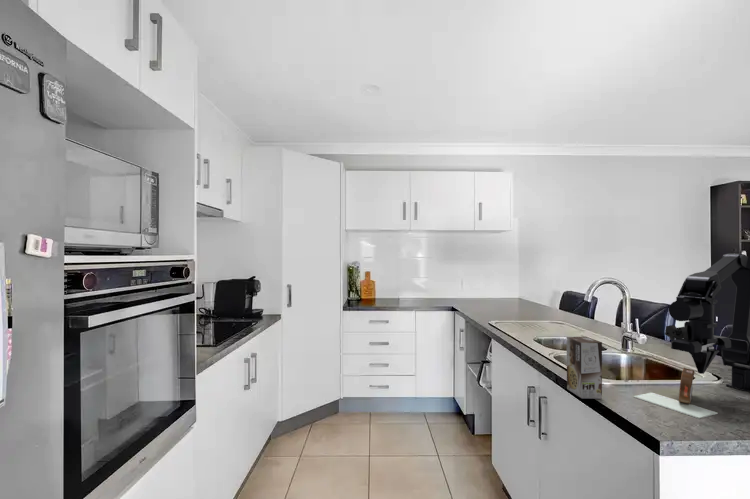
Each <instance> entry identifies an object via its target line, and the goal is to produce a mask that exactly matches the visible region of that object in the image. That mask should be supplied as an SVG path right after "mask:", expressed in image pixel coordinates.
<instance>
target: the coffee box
mask: <svg viewBox="0 0 750 499" xmlns="http://www.w3.org/2000/svg"><path fill="white" fill-rule="evenodd" d="M565 339H566V389H567V390H568V391H569V392H571V393H573V394H574V395H576V396H577V397H579V398H580V399H599V400H600V399H601V400H602V398H603V342H602V341H599V340H596V339H594V338H592V337H588V336H566V338H565Z"/></svg>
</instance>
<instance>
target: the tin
mask: <svg viewBox="0 0 750 499" xmlns="http://www.w3.org/2000/svg"><path fill="white" fill-rule="evenodd" d="M680 376H681V377H680V383H679V393H678V401H679V402H682V403H686V404H691V402H692V400H693V399H692V397H693V389H694V388H693V380H694V376H695V370H694V369H691V368H686V367H683V369H682V371H681V375H680Z"/></svg>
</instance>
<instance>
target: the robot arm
mask: <svg viewBox="0 0 750 499" xmlns="http://www.w3.org/2000/svg"><path fill="white" fill-rule="evenodd" d="M729 277H730V279H731V281H732V283H733V284H734V286H735V287H736V288H735V289H736V290H735V291H736V292H735V299H734V308H733V317H732V318H733V319H732V327H731V333H730V334H729V335H728V336H727V337H726V336H721V335H715V328H718V323H715V309H714V308H715V305H714V304H717V303H718V300H717V299H716V298H715V296H716V295H717V294H718V293H719V292H720V290H722V286H721V284H722V283H723V282H724V281H725V280H726V279H727V278H729ZM668 314H669V315H670V317H671V318H672V319H673V320H675V321H677V322H684V324H683V326H681V327H677V326H675V325H674V324H672V325H666V326H665V333H664V335H665V336H666V337H667V338H669V340H670V349H672V350H675V351H676V350H677V351H680V352H685V353H689V354H690V355H691V357H692V360H693V362H694V365H695V367H696V370H697V373H698V374H702V375H704V374H705V373H706V371H707V370H708V368H709V366H710V365H711V363H712V361H714V359H715V357H716V356H717V354H719V353H720V355H721V359H722V364H723V366H727V367H730V368H731V373H730V374H731V381H730V383H726V384H725V386H726V387H730V388H734V389H739V390H742V391H745V392H750V256H747V255H746V254H745V253H744V254H743V253H725V254H723V255H722V257H721V258H720V259H719V260H717V261H716V262H715V263H713V264H712V265H711V266H709V268H706V270H703V271H699V272H695V273H693V274H689V275H688V276H687V277H685V279H684V280H683V283H682V285H681V287H680V290H679V292H678V293H677V295H676V298H675V301H673V302H671V304H670V305H669V307H668ZM714 346H719V347H721V350H720V349H716V348H715V347H714Z"/></svg>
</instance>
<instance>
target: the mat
mask: <svg viewBox="0 0 750 499" xmlns="http://www.w3.org/2000/svg"><path fill="white" fill-rule="evenodd" d="M633 398H635V399H638V400H641V401H644V402H647V403H650V404H653V405H656V406H659V407H662V408H666V409H668V410H671V411H675V412H678V413H681V414H683V415H687V416H690V417H693V418H696V419H700V420H701V419H703V418H707V417H711V416H714V415H718V413H719V412H716V411H714V410H710V409H706V408H704V407H700V406H697V405H694V404H691V403H690V404H686V403H682V402H679V399H678V400H677V399H674V398H672V397H668V396H666V395H665V396H664V395H661V394H658V393H654V392H647V393H643V394H638V395H633Z"/></svg>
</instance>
